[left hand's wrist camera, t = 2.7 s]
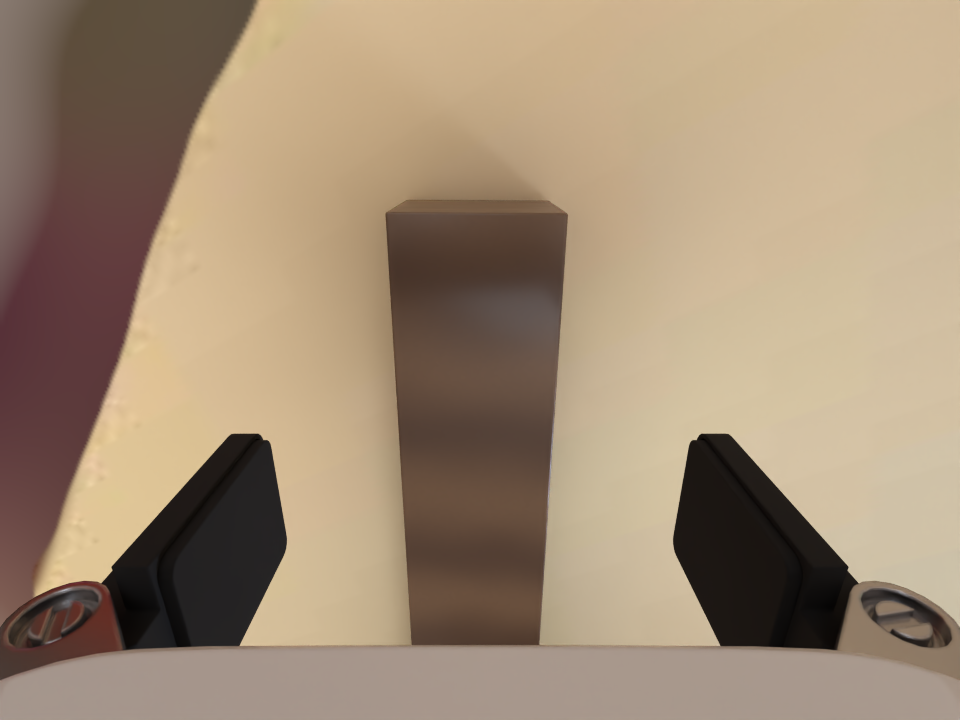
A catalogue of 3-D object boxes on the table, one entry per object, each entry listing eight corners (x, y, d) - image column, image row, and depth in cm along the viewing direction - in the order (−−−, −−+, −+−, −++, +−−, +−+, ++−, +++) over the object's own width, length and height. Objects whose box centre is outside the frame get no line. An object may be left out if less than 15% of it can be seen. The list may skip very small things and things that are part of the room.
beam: (405, 199, 24) (384, 212, 19) (549, 200, 24) (568, 213, 19) (437, 886, 46) (432, 979, 41) (513, 887, 46) (517, 980, 41)
